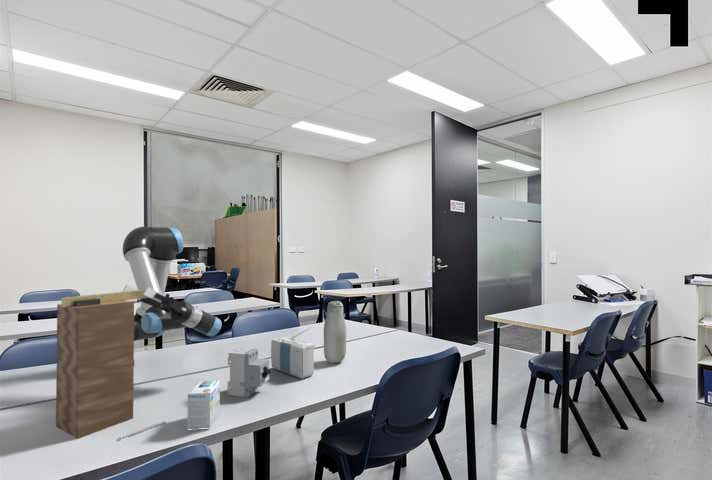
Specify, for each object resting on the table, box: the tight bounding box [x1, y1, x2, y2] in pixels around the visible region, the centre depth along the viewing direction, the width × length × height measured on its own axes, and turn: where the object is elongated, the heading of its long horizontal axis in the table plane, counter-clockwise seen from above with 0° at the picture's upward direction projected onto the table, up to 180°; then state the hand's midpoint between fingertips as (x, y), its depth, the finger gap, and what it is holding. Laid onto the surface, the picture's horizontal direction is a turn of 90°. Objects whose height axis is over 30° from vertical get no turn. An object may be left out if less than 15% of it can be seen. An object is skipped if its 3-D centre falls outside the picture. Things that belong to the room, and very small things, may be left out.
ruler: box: [118, 420, 167, 441], centre depth 111 cm, size 12×1×1 cm, turn 142°
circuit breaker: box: [227, 347, 272, 398], centre depth 140 cm, size 8×14×15 cm, turn 78°
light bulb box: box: [187, 380, 221, 429], centre depth 116 cm, size 11×7×11 cm, turn 5°
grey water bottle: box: [323, 300, 347, 364], centre depth 176 cm, size 10×10×28 cm
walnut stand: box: [55, 299, 135, 439], centre depth 117 cm, size 14×15×38 cm
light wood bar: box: [60, 289, 149, 307], centre depth 121 cm, size 3×26×2 cm, turn 148°
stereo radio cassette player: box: [270, 326, 316, 380], centre depth 162 cm, size 21×8×20 cm, turn 47°
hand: (134, 289), depth 127 cm, fingers open, 12 cm apart
